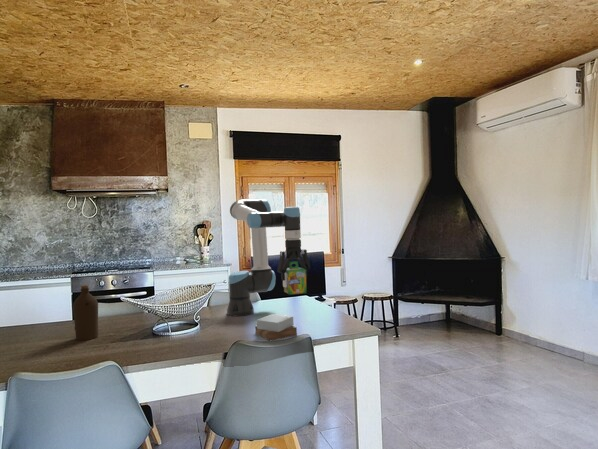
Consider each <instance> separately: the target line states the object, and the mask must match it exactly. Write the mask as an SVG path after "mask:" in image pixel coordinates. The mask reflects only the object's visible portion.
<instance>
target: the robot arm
mask: <svg viewBox="0 0 598 449" xmlns="http://www.w3.org/2000/svg"><path fill="white" fill-rule="evenodd" d="M300 212H301V211H300V207H299V206H286V207H284V209H283V211H272V208H271V205H270V203H269V201H268V200H267V199H264V198H263V199H262V198H251V199H250V198H249V199H239V200H236V201H234V202H233V203H232V204H231V206H230V207H229V214H230V216H231V217H232V218H233V219H234V220H237V221H243V222H245V223H246V224H247V226H248V228H250V230H251V244H252V245H251V246H252V260H253V261H252V263H253V266H252V268H251V269H250V271H249V270H240V271H236V272H232V273H230V274H229V276H228V296H229V297H228V298H229V302H228V304H227V309H226V315H227V316H229V317H242V316H248V315H251V314H254V312H255V310H254V309H255V308H254V305H253V303H252V300H251V294H255V293H266V292H268V291H269V292H270V291H272V290H273V289H274V288H275V286H276V281H277V280H276V279H277V278H276V273H275V271H274V270H272V267H271V266H270V265H269V258H268V256H269V255H268V241H267V240H268V239H267V228H284V239H285V241H284V242H285V243H284V244H285V250H284V251H280V252H279V259H278V260H279V261H278V264H277V265H278V266H277V270H276V272H277V273H280V279H281V281H282V287H283V288H284V287H287V273H285V272H286V270H287V268H289V263H290V262H292V260H294V259H296V260H297V261H298V264H299V265H300V268H304V269H306V278H307V277H308V271H309V270H310V269H311V264H310V262H309V261H310V260H309V258H308V255H307V253H308V250H307V249H304V248H303V249H302V248H301V247H302V239H301V238H302V237H301V236H302V235H301V234H302V233H301V213H300Z"/></svg>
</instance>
